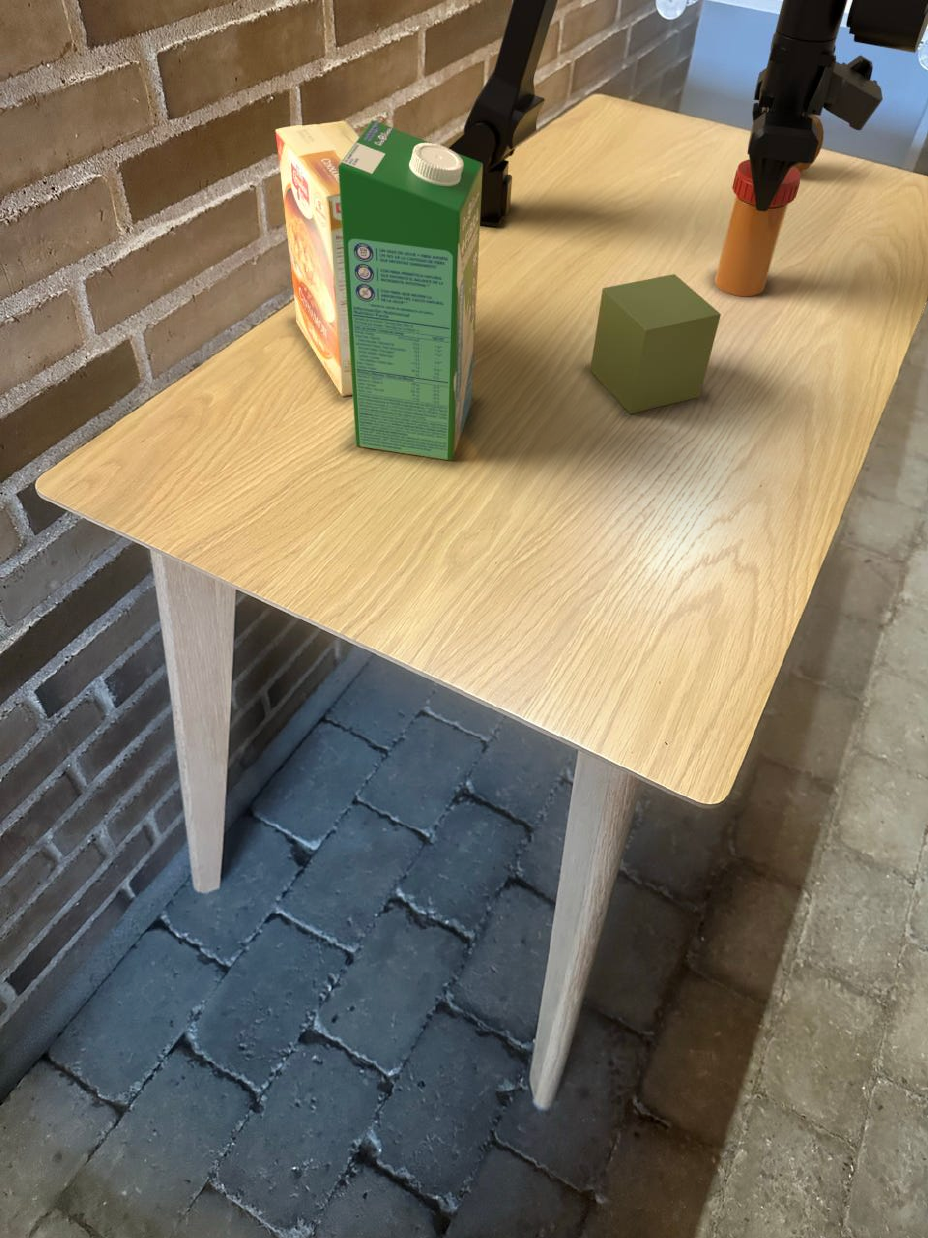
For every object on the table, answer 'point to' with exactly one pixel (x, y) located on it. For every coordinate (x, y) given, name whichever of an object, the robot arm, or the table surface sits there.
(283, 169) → the coffeecake box
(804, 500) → the table surface
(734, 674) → the table surface
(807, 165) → the fruit
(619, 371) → the tea box
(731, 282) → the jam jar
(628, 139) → the table surface
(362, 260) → the milk carton
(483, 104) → the robot arm
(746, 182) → the lid
